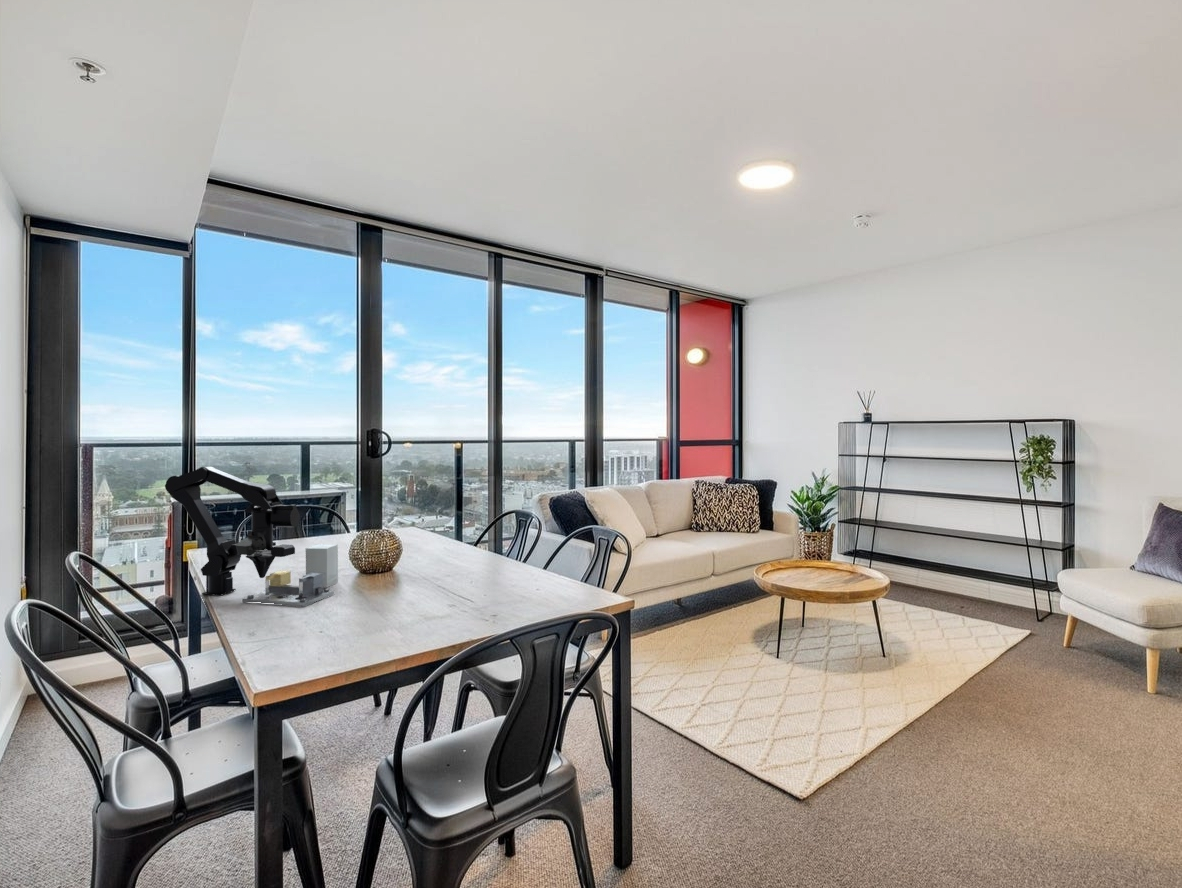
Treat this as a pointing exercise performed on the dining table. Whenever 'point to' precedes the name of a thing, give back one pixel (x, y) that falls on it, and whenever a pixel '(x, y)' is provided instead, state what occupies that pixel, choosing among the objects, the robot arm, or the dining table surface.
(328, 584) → the supplement box
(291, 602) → the bolt plate
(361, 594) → the dining table surface
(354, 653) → the dining table surface
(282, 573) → the yellow chamfered block
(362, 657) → the dining table surface
